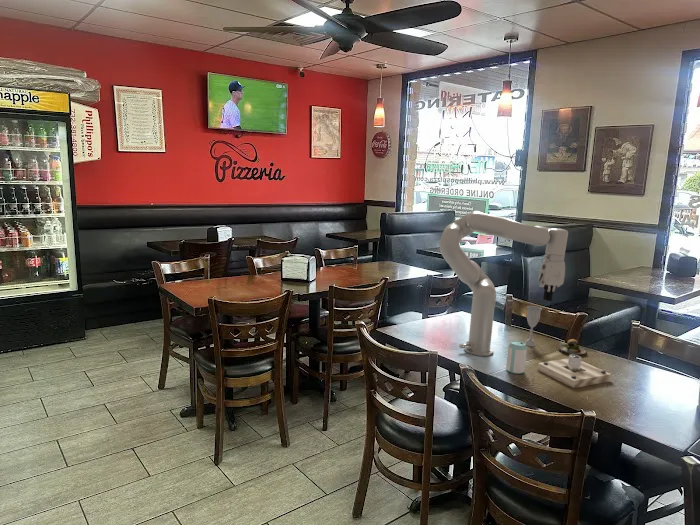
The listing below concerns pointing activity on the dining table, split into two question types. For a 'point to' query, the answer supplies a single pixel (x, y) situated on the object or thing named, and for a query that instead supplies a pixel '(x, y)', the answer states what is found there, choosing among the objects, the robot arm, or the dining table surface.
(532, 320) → the chalice
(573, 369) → the bushing
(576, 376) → the plate
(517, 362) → the can
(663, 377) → the dining table surface
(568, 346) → the burger
